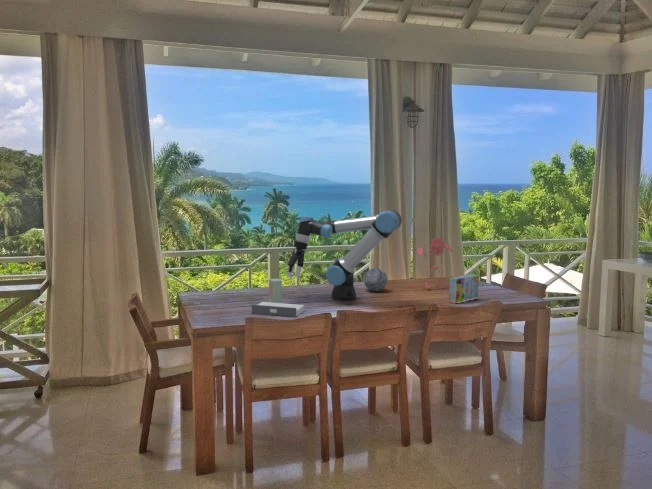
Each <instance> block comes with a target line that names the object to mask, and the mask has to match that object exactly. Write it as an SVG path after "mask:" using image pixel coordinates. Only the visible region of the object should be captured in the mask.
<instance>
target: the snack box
mask: <svg viewBox="0 0 652 489" xmlns="http://www.w3.org/2000/svg"><path fill="white" fill-rule="evenodd" d="M479 279H480V276H479V275H478V274H468V275H467V274H466V275H461V276H456V277H455V276H454V277H450V278H449V299H448V300H451V301H454V302H458V301H463V300H467V299H471V298H475V297H478V298H479V284H480V283H479Z"/></svg>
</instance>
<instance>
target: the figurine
mask: <svg viewBox="0 0 652 489" xmlns="http://www.w3.org/2000/svg"><path fill="white" fill-rule="evenodd" d="M445 247H446V248H447V249H448V250H449V251H450V252H452V253H454V251H453V249H452V247H451V246H450V245H449V244H447V243H445V240H443V239H442V237H441V236H439V237H435V238H434V239H433V238H432V239H431V244H430V245H429V252H430V253H429V254H426V253H425V252H424V249H423V247H421V246H419V247H418V248H417V250H416V251H417V255H418V256H420V257H422V256H423V255H424V257H429V256H432V255H433V259H434V260H433V261H434V265H433V266H432V268H431V269H428V270H427V271H426V273H428V272H430V271H432V270H438V273H440V270H439V269H438V266H437V264H436V263H437V262H436V257H435V256H440V255H441V254H443V253H444V249H445ZM428 277H429V276H428V274H426V280H425V283H424V286H425V287H426V289H427V288H430V289H431V282H430V281H429V279H428ZM438 285H439V287H440V288H441V286H443V284H442V282H441V280H440V279H437V283H436V286H438ZM425 287H424V288H425Z"/></svg>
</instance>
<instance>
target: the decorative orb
mask: <svg viewBox="0 0 652 489" xmlns="http://www.w3.org/2000/svg"><path fill="white" fill-rule="evenodd" d="M363 283H364V286H365V287H366V288H367V289H368V290H369V291H370V292H375V291H376V292H381V291H382V290H384V289H385V288H386V286H387V283H388V276H387V274H386V272H385V271H384V270H382V269H380V268H377V267H374V268H373V267H372V268H370V269H369V270H367V271H366V273H365V274H364V276H363Z"/></svg>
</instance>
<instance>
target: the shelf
mask: <svg viewBox="0 0 652 489" xmlns="http://www.w3.org/2000/svg"><path fill="white" fill-rule="evenodd" d="M304 311H305V305H304V304H295V303H283V302H281V303H272V302H269V301H262V302H260V303H258V304H251V314H255V315H265V316H278V317H290V318H291V317H292V318H296V317H298V316H299V315H301V314H302V313H303V312H304Z"/></svg>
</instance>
